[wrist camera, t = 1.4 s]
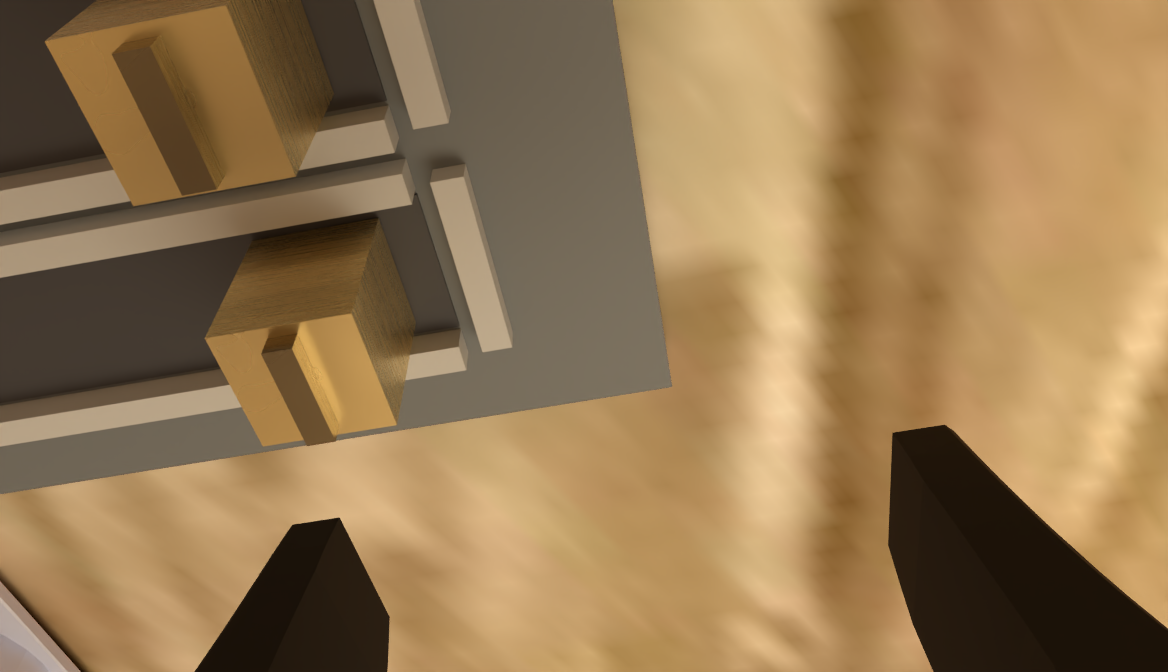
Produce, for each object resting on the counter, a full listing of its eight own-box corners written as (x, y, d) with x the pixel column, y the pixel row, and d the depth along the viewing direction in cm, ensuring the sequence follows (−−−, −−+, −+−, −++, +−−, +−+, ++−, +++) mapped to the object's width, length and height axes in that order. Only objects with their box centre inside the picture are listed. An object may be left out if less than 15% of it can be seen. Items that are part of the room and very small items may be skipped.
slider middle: (333, 93, 15) (289, 190, 12) (196, 119, 15) (123, 219, 13) (280, -57, 14) (216, 16, 11) (130, -26, 14) (29, 52, 11)
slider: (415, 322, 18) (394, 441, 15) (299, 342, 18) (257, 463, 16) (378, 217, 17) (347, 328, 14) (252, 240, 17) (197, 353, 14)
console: (665, 352, 20) (677, 415, 19) (-161, 486, 22) (-219, 555, 20) (502, -699, 11) (497, -763, 9) (-952, -335, 12) (-1189, -333, 11)
